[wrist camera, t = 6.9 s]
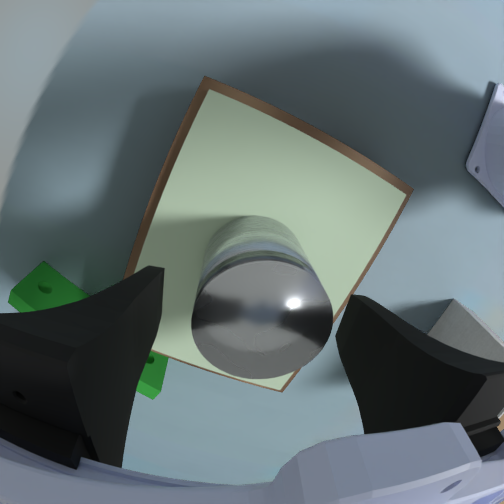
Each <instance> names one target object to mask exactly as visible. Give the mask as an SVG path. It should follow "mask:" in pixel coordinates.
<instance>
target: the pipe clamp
mask: <svg viewBox="0 0 504 504" xmlns="http://www.w3.org/2000/svg"><path fill="white" fill-rule="evenodd" d="M87 297H90V296H89V295H88V294H86V293H85V292H84V291H82V290H81V289H79V288H78V287H77V286H75V285H74V284H73V283H71V282H70V281H69V280H67V279H66V278H65V277H64V276H62V275H61V274H60V273H58V272H57V271H56V270H54V269H53V268H52V267H51V266H49V265H48V264H47V263H46V262H44V261H43V262H42V263H41V264H40V265H39V266H37V267H36V268H35V269H34V270H33V271H32V272H31V273H29V274H28V275H27V276H26V277H25V278H24V279H23V280H22V281H20V282H19V283H18V284H17V285H16V286H15V287H14V288H13V289H12V290H11V292H10V296H9V300H8V303H9V304H11V305H12V306H13V307H14V308H15V309H16V310H18V311H19V312H30V311H37V310H44V309H49V308H54V307H58V306H61V305H65V304H69V303H72V302H76V301H79V300H82V299H84V298H87ZM168 358H169V357H166V356H164V355H161V354H158V353H156V352H153V351H150V354H149V356H148V359H147V361H146V364H145V367H144V369H143V372H142V374H141V377H140V379H139V383H138V386H137V389H136V391H137V392H139V393H141V394H143V395H145V396H147V397H149V398H151V399H152V400H153V399H154V398H155V397H156V396H157V395H158V394H159V393H160V392H161V388H162V384H163V380H164V375H165V371H166V367H167V362H168Z"/></svg>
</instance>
